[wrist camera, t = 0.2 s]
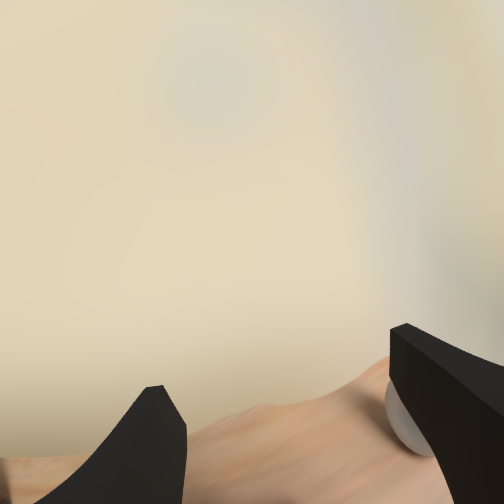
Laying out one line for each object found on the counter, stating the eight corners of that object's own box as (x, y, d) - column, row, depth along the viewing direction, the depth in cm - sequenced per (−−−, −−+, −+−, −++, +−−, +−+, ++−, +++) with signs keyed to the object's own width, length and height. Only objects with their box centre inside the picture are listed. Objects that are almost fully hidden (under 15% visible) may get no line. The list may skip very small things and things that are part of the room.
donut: (458, 457, 19) (489, 389, 16) (434, 479, 18) (464, 415, 15) (398, 409, 28) (406, 340, 25) (374, 425, 27) (380, 356, 24)
